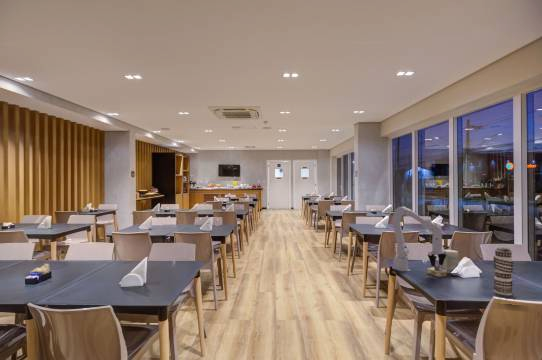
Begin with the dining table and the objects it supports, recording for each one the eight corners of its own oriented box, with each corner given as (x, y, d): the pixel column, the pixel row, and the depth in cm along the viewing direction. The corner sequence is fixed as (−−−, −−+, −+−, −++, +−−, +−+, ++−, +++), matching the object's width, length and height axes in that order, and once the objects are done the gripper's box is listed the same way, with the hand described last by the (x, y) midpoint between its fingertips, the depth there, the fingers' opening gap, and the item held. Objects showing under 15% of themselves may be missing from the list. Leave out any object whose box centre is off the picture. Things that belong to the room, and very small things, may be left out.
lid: (427, 270, 219) (427, 264, 219) (434, 269, 222) (434, 263, 222) (439, 273, 210) (439, 267, 210) (446, 272, 213) (447, 266, 213)
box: (427, 274, 219) (427, 269, 219) (434, 273, 222) (434, 268, 222) (439, 277, 211) (439, 273, 211) (446, 276, 214) (446, 271, 214)
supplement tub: (460, 273, 222) (461, 251, 222) (453, 275, 217) (453, 252, 217) (446, 269, 231) (446, 248, 231) (439, 271, 225) (439, 250, 225)
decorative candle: (490, 289, 189) (490, 245, 189) (509, 291, 186) (509, 246, 186) (496, 294, 180) (496, 248, 180) (516, 296, 177) (516, 250, 178)
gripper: (434, 246, 210) (434, 268, 209) (450, 245, 216) (450, 265, 216) (425, 244, 216) (425, 265, 216) (440, 243, 222) (440, 263, 222)
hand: (437, 265), depth 216 cm, fingers open, 7 cm apart
